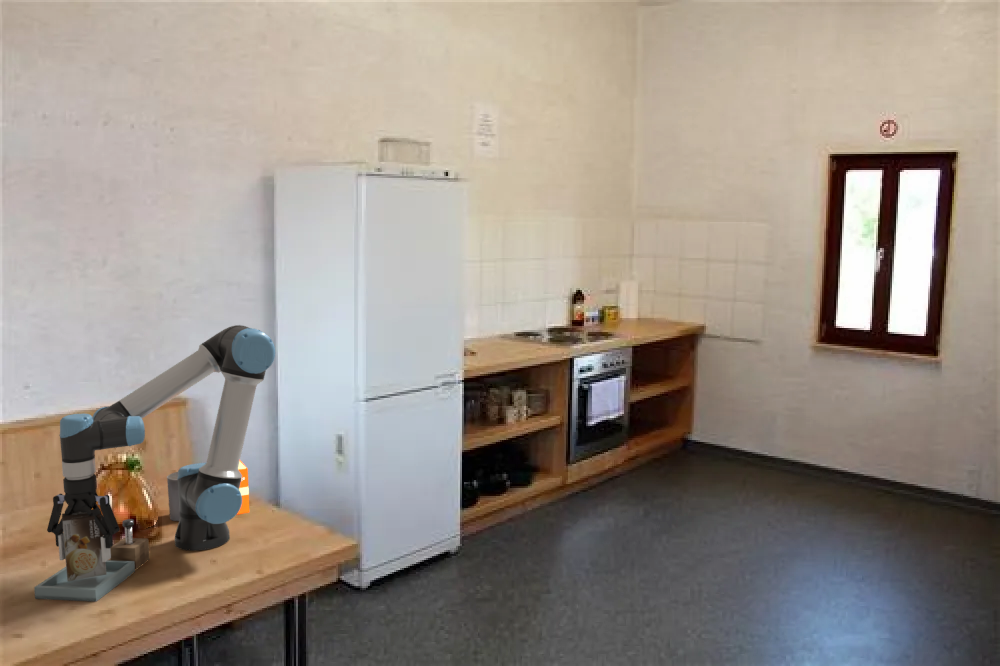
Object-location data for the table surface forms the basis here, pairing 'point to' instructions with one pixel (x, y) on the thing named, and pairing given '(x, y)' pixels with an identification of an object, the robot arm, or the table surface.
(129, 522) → the peg
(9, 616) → the table surface
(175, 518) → the pillar candle
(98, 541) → the coffee box
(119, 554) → the walnut block
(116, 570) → the tray
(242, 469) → the orange juice
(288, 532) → the table surface
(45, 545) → the table surface
